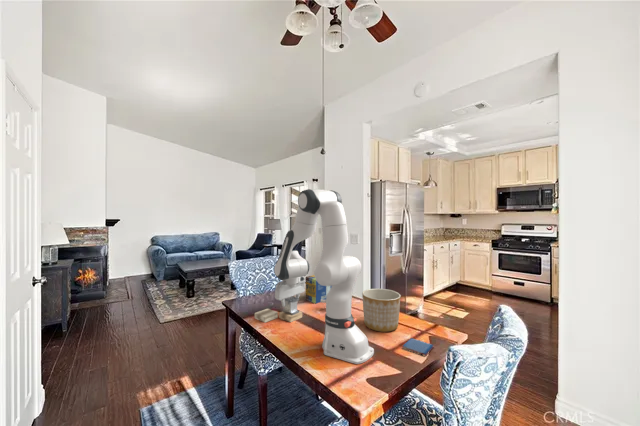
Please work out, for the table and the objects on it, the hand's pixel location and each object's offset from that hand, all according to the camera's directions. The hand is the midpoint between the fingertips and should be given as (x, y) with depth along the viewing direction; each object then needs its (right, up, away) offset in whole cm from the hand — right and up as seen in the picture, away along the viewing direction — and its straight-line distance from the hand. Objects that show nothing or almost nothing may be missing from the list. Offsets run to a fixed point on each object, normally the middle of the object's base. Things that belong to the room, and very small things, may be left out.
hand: (290, 303), depth 151 cm
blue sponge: (+59, -9, -33) cm, 68 cm away
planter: (+48, -8, -10) cm, 50 cm away
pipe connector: (+22, -8, +12) cm, 26 cm away
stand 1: (-13, -8, -1) cm, 15 cm away
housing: (0, -5, 0) cm, 5 cm away
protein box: (+16, -8, +31) cm, 36 cm away
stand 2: (0, -8, 0) cm, 8 cm away
